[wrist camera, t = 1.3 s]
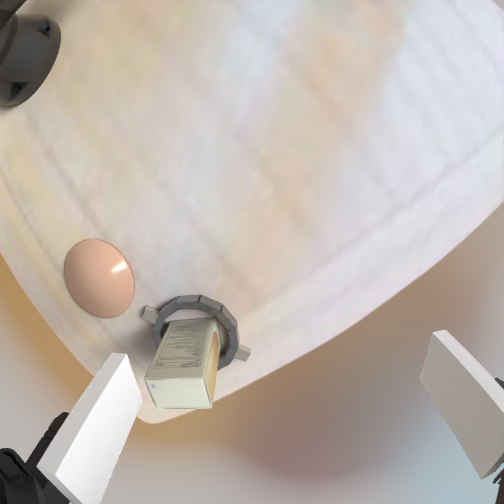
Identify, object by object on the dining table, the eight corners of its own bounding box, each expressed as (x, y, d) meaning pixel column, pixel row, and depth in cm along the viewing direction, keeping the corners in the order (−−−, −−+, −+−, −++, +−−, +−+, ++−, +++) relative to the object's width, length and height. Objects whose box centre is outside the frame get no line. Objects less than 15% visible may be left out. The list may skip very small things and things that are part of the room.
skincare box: (177, 347, 37) (152, 409, 26) (170, 319, 36) (139, 378, 25) (223, 345, 37) (213, 410, 25) (218, 316, 36) (203, 378, 24)
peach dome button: (62, 294, 36) (60, 296, 35) (74, 225, 33) (72, 226, 32) (124, 328, 37) (122, 331, 36) (144, 260, 34) (142, 261, 34)
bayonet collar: (136, 340, 37) (132, 347, 36) (157, 275, 35) (153, 280, 33) (232, 380, 39) (232, 388, 37) (266, 321, 36) (266, 328, 34)
